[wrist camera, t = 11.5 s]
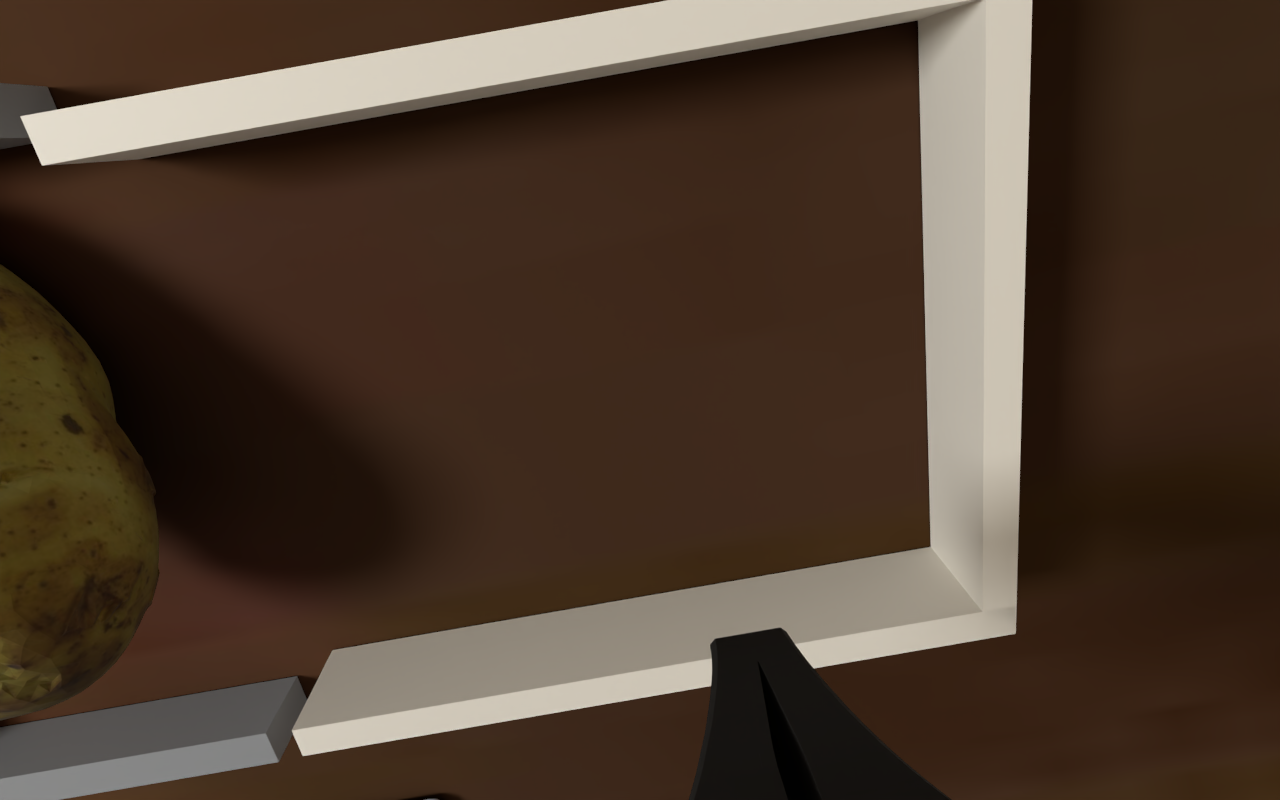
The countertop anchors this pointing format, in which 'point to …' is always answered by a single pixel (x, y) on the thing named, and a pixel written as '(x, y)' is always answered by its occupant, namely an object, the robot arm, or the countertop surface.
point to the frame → (146, 732)
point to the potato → (64, 511)
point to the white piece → (692, 618)
